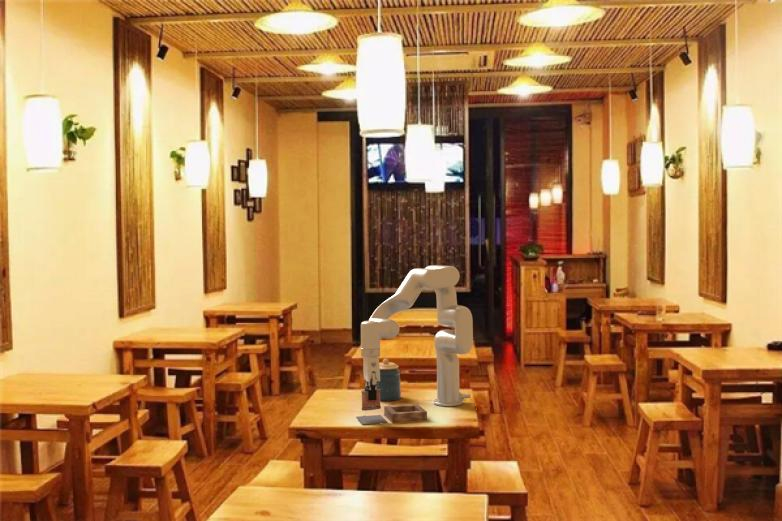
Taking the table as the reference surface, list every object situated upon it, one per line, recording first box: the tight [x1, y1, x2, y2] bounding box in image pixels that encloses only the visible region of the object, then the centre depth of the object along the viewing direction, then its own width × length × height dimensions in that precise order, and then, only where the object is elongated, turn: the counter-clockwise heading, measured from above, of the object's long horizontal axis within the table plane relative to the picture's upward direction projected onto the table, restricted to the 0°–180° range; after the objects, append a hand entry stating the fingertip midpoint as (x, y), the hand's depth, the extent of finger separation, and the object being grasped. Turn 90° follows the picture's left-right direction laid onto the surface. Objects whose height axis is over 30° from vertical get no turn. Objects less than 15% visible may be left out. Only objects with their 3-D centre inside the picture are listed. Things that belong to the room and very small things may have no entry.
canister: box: [376, 358, 402, 402], centre depth 368 cm, size 13×13×18 cm
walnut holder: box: [383, 403, 428, 424], centre depth 332 cm, size 14×14×4 cm
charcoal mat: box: [355, 414, 388, 426], centre depth 328 cm, size 10×12×1 cm
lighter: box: [361, 383, 382, 412], centre depth 327 cm, size 8×3×10 cm, turn 117°
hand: (371, 398), depth 327 cm, fingers closed on lighter, 3 cm apart
